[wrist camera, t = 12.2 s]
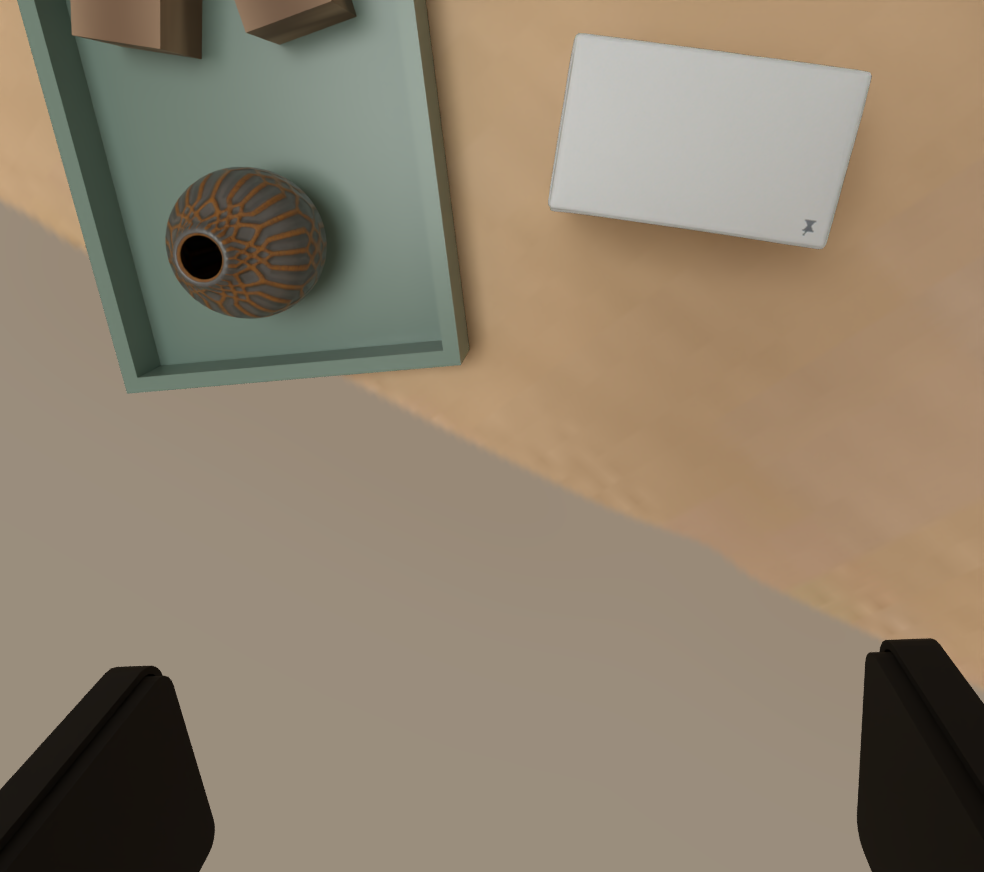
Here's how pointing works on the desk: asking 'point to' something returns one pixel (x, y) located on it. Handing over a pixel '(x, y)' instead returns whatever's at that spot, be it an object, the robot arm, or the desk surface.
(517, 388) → the desk surface
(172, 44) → the walnut cube
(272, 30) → the walnut cube
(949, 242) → the desk surface
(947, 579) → the desk surface
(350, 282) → the tray
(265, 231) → the vase
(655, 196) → the skincare box
